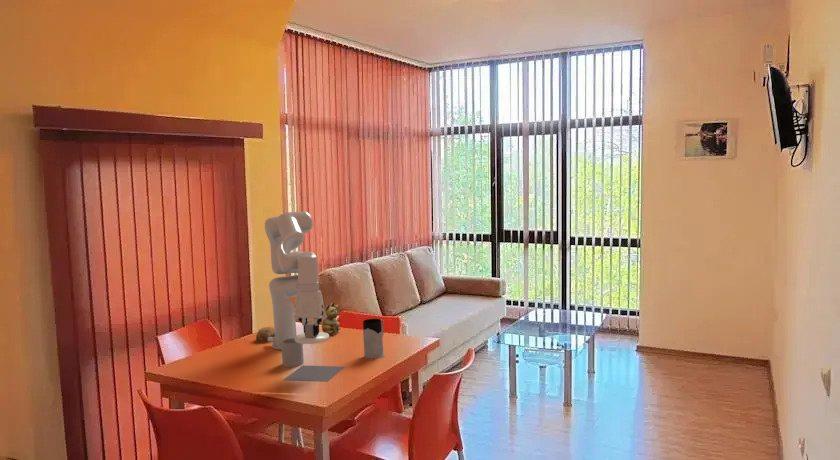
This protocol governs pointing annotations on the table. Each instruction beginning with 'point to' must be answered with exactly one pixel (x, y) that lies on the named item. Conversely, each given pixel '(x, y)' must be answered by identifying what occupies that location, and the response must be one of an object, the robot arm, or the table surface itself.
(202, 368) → the table surface
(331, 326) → the decorative figurine
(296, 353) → the cup
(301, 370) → the mat
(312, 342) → the lid
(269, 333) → the bread roll
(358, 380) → the table surface
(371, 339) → the glass holder
